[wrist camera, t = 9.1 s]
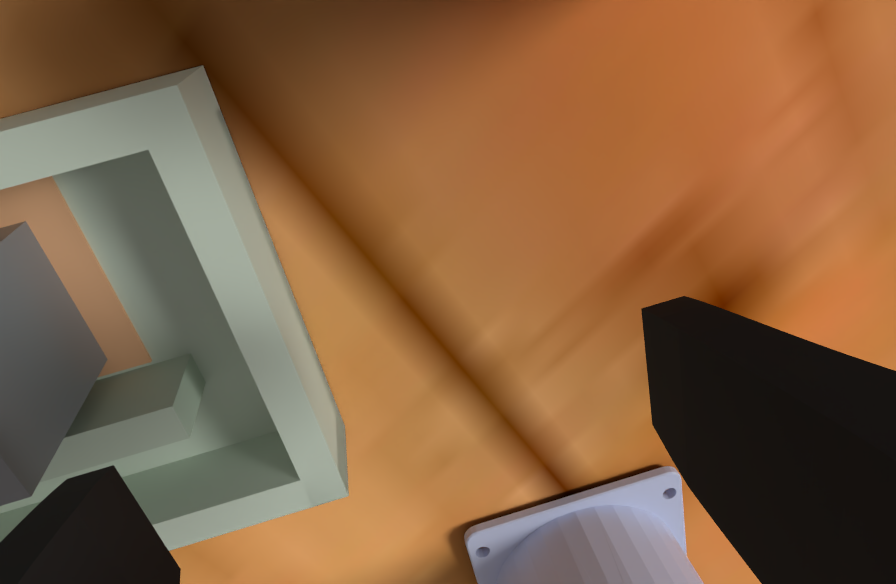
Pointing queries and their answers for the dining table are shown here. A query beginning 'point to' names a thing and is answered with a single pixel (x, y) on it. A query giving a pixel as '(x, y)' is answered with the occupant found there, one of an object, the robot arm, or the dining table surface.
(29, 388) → the grey block with knob
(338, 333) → the dining table surface
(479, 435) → the dining table surface
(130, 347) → the grey-green rectangular frame
